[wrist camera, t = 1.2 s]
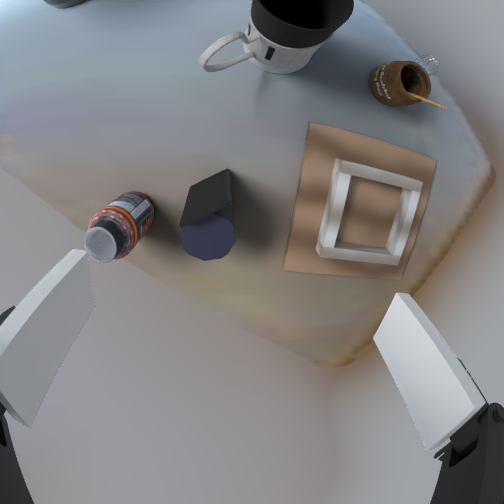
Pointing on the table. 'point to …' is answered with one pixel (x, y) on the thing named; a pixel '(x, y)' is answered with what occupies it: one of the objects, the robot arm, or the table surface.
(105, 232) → the supplement bottle
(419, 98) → the utensil holder
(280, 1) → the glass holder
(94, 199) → the table surface
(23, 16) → the table surface
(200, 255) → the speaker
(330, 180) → the socket plate
